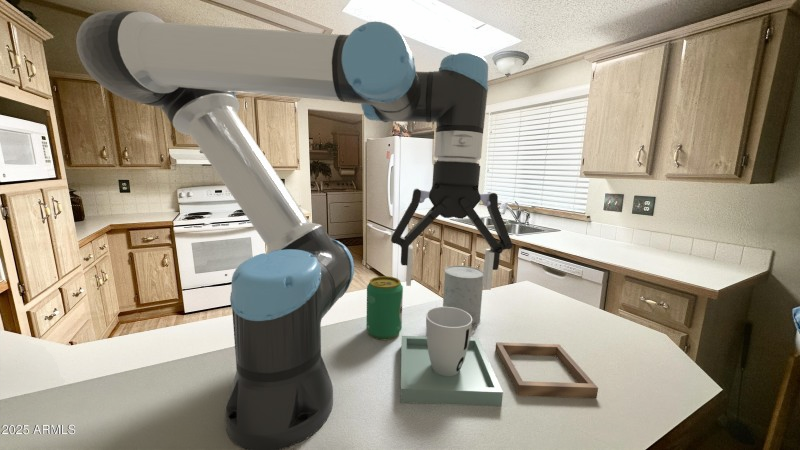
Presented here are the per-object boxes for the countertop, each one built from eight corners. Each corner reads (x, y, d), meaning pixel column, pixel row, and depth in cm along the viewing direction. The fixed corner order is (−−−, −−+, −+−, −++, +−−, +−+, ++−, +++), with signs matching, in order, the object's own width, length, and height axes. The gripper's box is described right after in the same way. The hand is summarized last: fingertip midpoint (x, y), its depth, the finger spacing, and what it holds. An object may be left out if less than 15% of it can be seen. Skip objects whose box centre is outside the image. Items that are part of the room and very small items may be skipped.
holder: (518, 395, 52) (519, 385, 51) (495, 351, 65) (496, 342, 64) (596, 398, 52) (598, 387, 51) (558, 353, 64) (559, 344, 64)
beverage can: (404, 339, 68) (405, 287, 66) (367, 341, 67) (367, 288, 65) (398, 322, 76) (400, 275, 74) (365, 323, 74) (366, 275, 72)
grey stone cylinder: (484, 328, 74) (488, 278, 72) (444, 326, 74) (447, 277, 72) (475, 310, 84) (478, 266, 81) (439, 309, 84) (442, 265, 81)
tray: (400, 402, 49) (401, 388, 49) (401, 346, 65) (401, 335, 65) (501, 406, 49) (502, 392, 49) (477, 349, 65) (478, 338, 65)
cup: (468, 385, 52) (472, 330, 51) (420, 377, 54) (423, 324, 52) (468, 358, 60) (471, 309, 58) (426, 351, 62) (428, 304, 60)
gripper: (378, 156, 47) (374, 289, 51) (543, 164, 47) (527, 297, 51) (382, 158, 54) (377, 274, 58) (524, 165, 54) (511, 280, 58)
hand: (447, 285), depth 54 cm, fingers open, 13 cm apart
